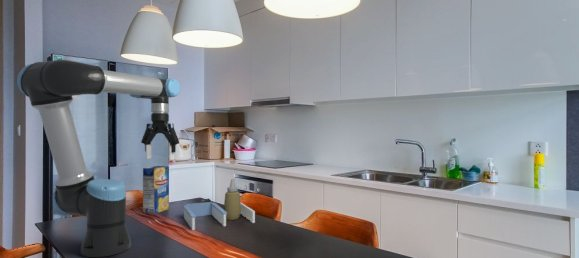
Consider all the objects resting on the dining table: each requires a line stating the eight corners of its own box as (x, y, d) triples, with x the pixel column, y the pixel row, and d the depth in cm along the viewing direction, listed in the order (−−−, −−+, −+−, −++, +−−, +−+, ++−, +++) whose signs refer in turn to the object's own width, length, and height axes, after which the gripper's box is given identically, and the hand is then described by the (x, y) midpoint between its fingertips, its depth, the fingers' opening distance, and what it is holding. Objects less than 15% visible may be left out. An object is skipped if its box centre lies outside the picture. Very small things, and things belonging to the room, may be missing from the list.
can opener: (205, 207, 181) (205, 196, 181) (216, 208, 178) (216, 198, 178) (182, 215, 165) (182, 203, 165) (194, 216, 162) (194, 204, 162)
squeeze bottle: (237, 221, 153) (238, 181, 153) (220, 220, 155) (220, 180, 155) (243, 216, 161) (243, 178, 161) (227, 215, 163) (227, 178, 163)
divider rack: (254, 222, 151) (254, 209, 151) (191, 230, 139) (191, 215, 139) (239, 211, 172) (239, 199, 172) (182, 217, 160) (182, 204, 160)
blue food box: (142, 212, 168) (142, 168, 168) (157, 207, 179) (158, 165, 179) (154, 213, 166) (154, 168, 166) (168, 208, 177) (169, 166, 177)
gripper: (187, 112, 156) (187, 159, 156) (145, 113, 165) (145, 157, 165) (176, 112, 149) (176, 160, 149) (133, 113, 158) (133, 158, 158)
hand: (159, 159), depth 157 cm, fingers open, 13 cm apart
